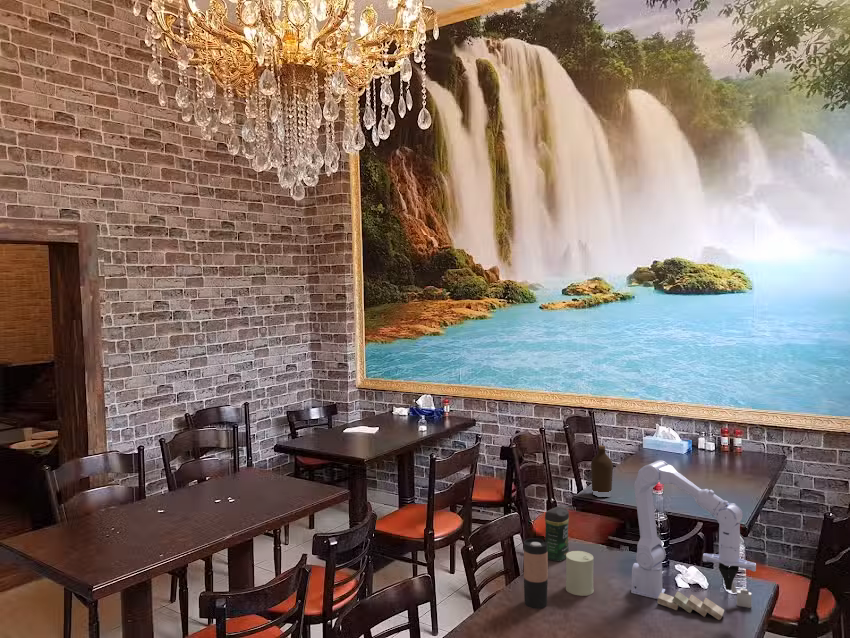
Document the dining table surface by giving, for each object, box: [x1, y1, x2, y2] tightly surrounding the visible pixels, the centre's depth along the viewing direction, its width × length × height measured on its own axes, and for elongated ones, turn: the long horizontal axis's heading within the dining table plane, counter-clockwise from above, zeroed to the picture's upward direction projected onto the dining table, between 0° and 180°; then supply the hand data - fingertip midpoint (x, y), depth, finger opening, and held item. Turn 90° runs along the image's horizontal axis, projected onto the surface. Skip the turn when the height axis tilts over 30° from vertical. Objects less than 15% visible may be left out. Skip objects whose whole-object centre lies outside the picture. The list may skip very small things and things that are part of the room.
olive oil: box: [590, 444, 614, 492], centre depth 316 cm, size 11×11×25 cm
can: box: [565, 550, 595, 597], centre depth 214 cm, size 9×9×12 cm
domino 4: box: [700, 597, 725, 621], centre depth 196 cm, size 2×4×6 cm
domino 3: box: [686, 594, 708, 618], centre depth 198 cm, size 2×4×6 cm
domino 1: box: [657, 592, 680, 611], centre depth 203 cm, size 2×4×6 cm
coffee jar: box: [544, 506, 570, 562], centre depth 241 cm, size 10×8×19 cm
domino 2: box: [672, 590, 694, 614], centre depth 201 cm, size 2×4×6 cm
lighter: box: [730, 581, 752, 609], centre depth 203 cm, size 7×2×8 cm, turn 66°
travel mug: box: [523, 537, 549, 610], centre depth 204 cm, size 8×8×20 cm
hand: (728, 588), depth 194 cm, fingers closed
